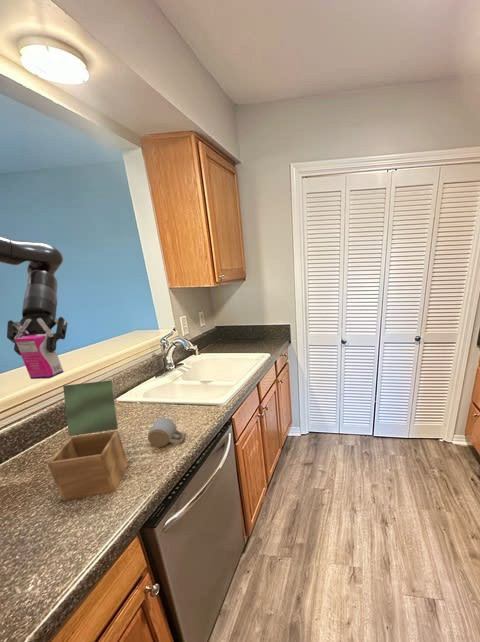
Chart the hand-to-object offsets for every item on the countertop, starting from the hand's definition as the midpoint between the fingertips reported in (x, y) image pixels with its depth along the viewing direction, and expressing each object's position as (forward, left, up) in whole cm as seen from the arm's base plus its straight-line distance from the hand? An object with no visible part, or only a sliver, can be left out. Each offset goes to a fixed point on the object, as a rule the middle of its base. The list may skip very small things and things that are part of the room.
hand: (35, 352), depth 88 cm
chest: (+11, -14, -36) cm, 40 cm away
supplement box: (0, +2, -7) cm, 8 cm away
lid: (+11, -5, -16) cm, 20 cm away
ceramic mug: (+27, +6, -36) cm, 46 cm away
